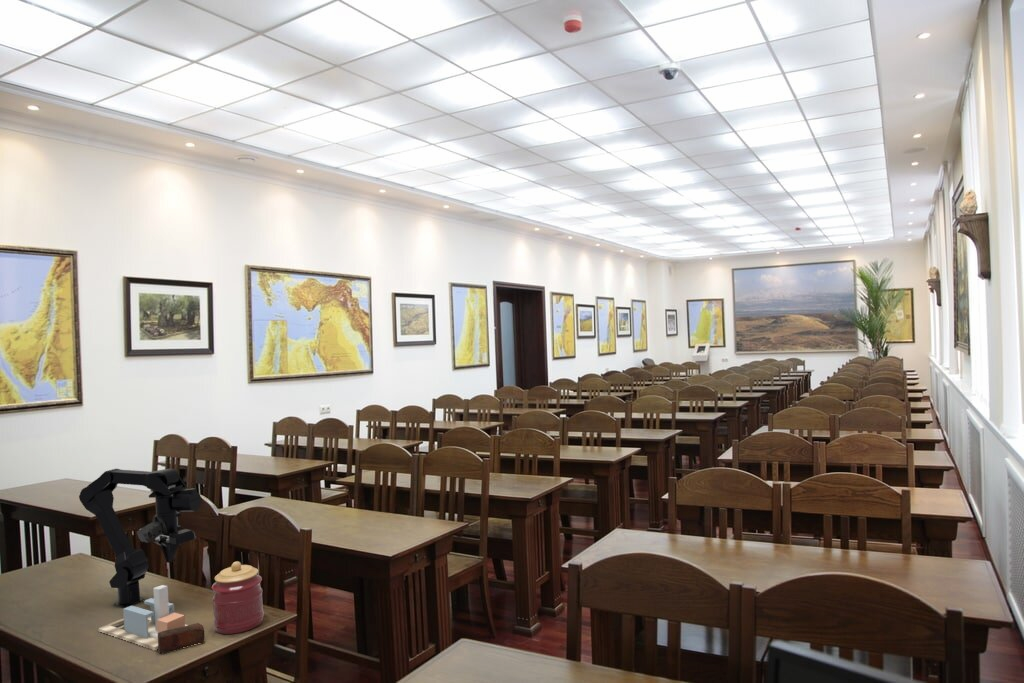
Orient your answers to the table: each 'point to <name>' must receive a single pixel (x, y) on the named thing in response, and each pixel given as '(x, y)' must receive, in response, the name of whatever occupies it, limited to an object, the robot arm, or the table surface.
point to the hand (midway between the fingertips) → (169, 561)
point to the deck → (118, 631)
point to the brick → (180, 637)
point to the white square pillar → (164, 613)
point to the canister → (237, 599)
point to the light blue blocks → (140, 618)
